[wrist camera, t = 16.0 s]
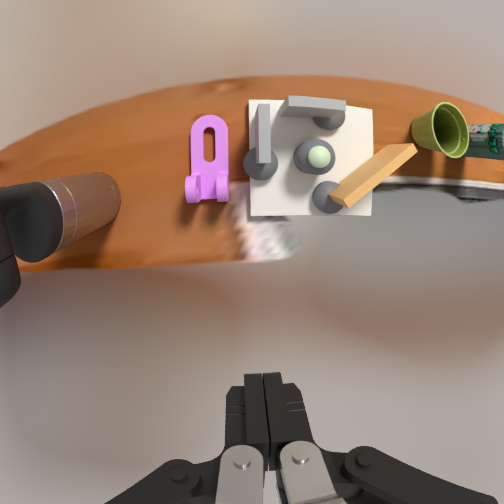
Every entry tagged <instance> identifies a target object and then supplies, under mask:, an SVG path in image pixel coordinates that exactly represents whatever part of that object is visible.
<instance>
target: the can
mask: <svg viewBox="0 0 504 504" xmlns="http://www.w3.org/2000/svg"><path fill="white" fill-rule="evenodd" d="M467 126H468V130H469V144H468V148H467V150H466V152H465V153H464V154H463V155H462V156H463V157H476V158H487V159H497V160H504V124H477V125H467Z"/></svg>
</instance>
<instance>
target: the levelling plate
mask: <svg viewBox="0 0 504 504" xmlns="http://www.w3.org/2000/svg"><path fill="white" fill-rule="evenodd" d="M372 156H373V121H372V109H366V108H359V107H352V106H346V101H344V100H336V99H329V98H317V97H305V96H288V97H287V98H286V99H285V100H249V151H248V152H247V154H246V155H245V157H244V161H243V166H244V170H245V172H246V173H247V174H248V175H249V176H250V215H251V216H282V215H357V216H358V215H359V216H371V207H372V190H371V191H369V192H368V193H367V194H366V195H365V196H363V197H362V198H361V199H360V200H358V201H357V202H356V203H355V204H353V205H352V206H351V207H350V208H347V207H345V206H343V208H342V209H341V210H340V211H338V212H337V213H334V214H326V213H324V212H322V211H320V210H319V209H318V208H317V207H316V206H315V205H314V203H313V198H312V195H313V191H314V189H315V187H316V186H317V185H318V184H319V183H321V182H323V181H332V182H336V183H339V182H340V181H342V180H343V179H344V178H345V177H347V176H348V175H349V174H351V173H352V172H353V171H354V170H356V169H357V168H358V167H359V166H361V165H362V164H363V163H365V162H366V161H367V160H368V159H370V158H371V157H372Z"/></svg>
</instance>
